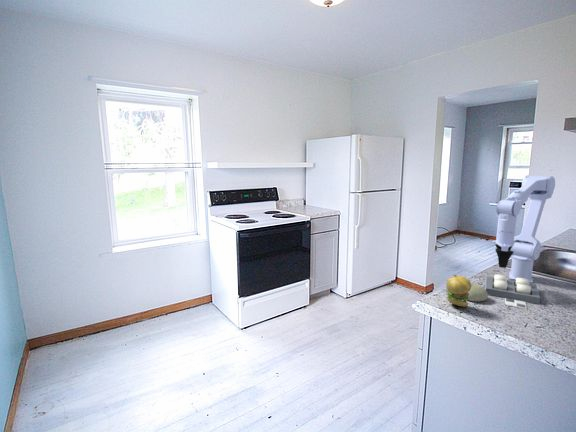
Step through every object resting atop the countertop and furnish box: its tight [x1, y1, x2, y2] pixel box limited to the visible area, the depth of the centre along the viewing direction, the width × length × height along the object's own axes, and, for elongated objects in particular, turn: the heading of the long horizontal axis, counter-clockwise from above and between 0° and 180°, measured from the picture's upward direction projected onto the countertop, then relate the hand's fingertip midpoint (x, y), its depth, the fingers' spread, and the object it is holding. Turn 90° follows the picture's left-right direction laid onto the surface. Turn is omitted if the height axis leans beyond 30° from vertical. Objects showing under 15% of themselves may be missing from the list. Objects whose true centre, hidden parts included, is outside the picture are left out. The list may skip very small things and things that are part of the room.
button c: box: [515, 278, 531, 286], centre depth 120 cm, size 4×4×3 cm
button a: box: [493, 273, 508, 282], centre depth 124 cm, size 4×4×3 cm
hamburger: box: [446, 274, 472, 308], centre depth 107 cm, size 8×7×12 cm
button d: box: [516, 283, 531, 295], centre depth 115 cm, size 4×4×3 cm
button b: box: [494, 280, 508, 291], centre depth 118 cm, size 4×4×3 cm
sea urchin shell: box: [467, 283, 489, 303], centre depth 115 cm, size 9×8×8 cm
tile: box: [504, 298, 528, 310], centre depth 110 cm, size 6×6×1 cm
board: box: [485, 276, 541, 305], centre depth 120 cm, size 15×16×2 cm
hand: (502, 264), depth 123 cm, fingers open, 7 cm apart
